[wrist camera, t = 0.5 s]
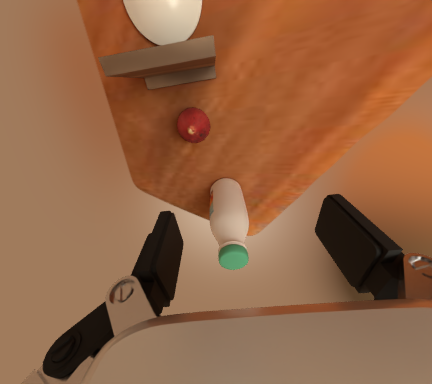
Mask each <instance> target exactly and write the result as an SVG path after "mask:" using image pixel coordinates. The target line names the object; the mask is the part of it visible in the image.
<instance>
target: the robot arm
mask: <svg viewBox="0 0 432 384" xmlns="http://www.w3.org/2000/svg"><path fill="white" fill-rule="evenodd" d="M315 232H316V235H317V236H318V238H319V239H320V241H321V242H322V243H323V245H324V247H325V248H326V249H327V251H328V253H329V254H330V255H331V257H332V258H333V260H334V261H335V263H336V264H337V266H338V267H339V269H340V270H341V272H342V273H343V275H344V276H345V277H346V279H347V280H348V282H349V283H350V285H351V286H353V287H355V288H356V290H357V291H358V293H369V292H371V293H372V294H373V295H374V300H367V301H350V302H335V303H320V304H304V305H290V306H274V307H260V308H246V309H232V310H219V311H206V312H194V313H183V314H174V315H167V316H161V315H160V314H161V313H162V310H163V307H169V306H170V300H173V298H174V294H175V289H176V283H177V277H178V272H179V267H180V261H181V255H182V250H183V239H182V236H181V234H180V230H179V227H178V224H177V221H176V218H175V215H174V213H171V211H163V212H160V214H159V217H158V219H157V221H156V224H155V226H154V229H153V231H152V233H150V234H149V235H148V236H147V238H146V241H145V243H144V246H143V248H142V250H141V253H140V255H139V257H138V260H137V262H136V265H135V267H134V269H133V271H132V274H131V276H125V277H123V278H121V279H119V280H118V281H116V282H115V283H114V284H113V285H112V286H111V287H110V289H109V290H108V292H107V295H106V301H105V302H104V303H103V304H101V305H100V306H99V307H97V308H96V309H95V310H93V311H92V312H91V313H90V314H88V315H87V316H86V317H84V318H83V319H82V320H81V321H79V322H78V323H77V324H75V325H74V326H73V327H72V328H70V329H69V330H68V331H66V332H65V333H64V334H63V335H62V336H61V337H59V338H58V339H57V340H56V341H55V342H54V344H53V345H52V346H51V347H50V349H49V351H48V352H47V354H46V356H45V359H44V361H43V365H42V366H41V367H40V368H39V369H38V370H34V371H33V372H32V373H31V374H30V375H29V376H28V377H27V378H26V379H25V380H24V381H23V382H22V383H21V384H432V258H431V257H429V256H426V255H423V254H419V253H408V254H406V255H404V254H403V253H402V252H401V251H402V250H403V249H402V248H401V247H399V246H398V245H397V244H396V243H395V242H394V241H393V240H391V239H390V238H389V237H388V236H387V235H386V234H385V233H384V232H382V231H381V230H380V229H379V228H378V227H377V226H376V225H374V224H373V223H372V222H371V221H370V220H368V219H367V218H366V217H365V216H364V215H363V214H362V213H361V212H360V211H359V210H357V209H356V208H355V207H354V206H353V205H352V204H351V203H349V202H348V201H347V200H346V199H345V198H344V197H343V196H341V195H340V194H333V195H328V196H327V197H326V198H325V199H324V201H323V204H322V207H321V211H320V214H319V217H318V221H317V224H316V227H315Z"/></svg>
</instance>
